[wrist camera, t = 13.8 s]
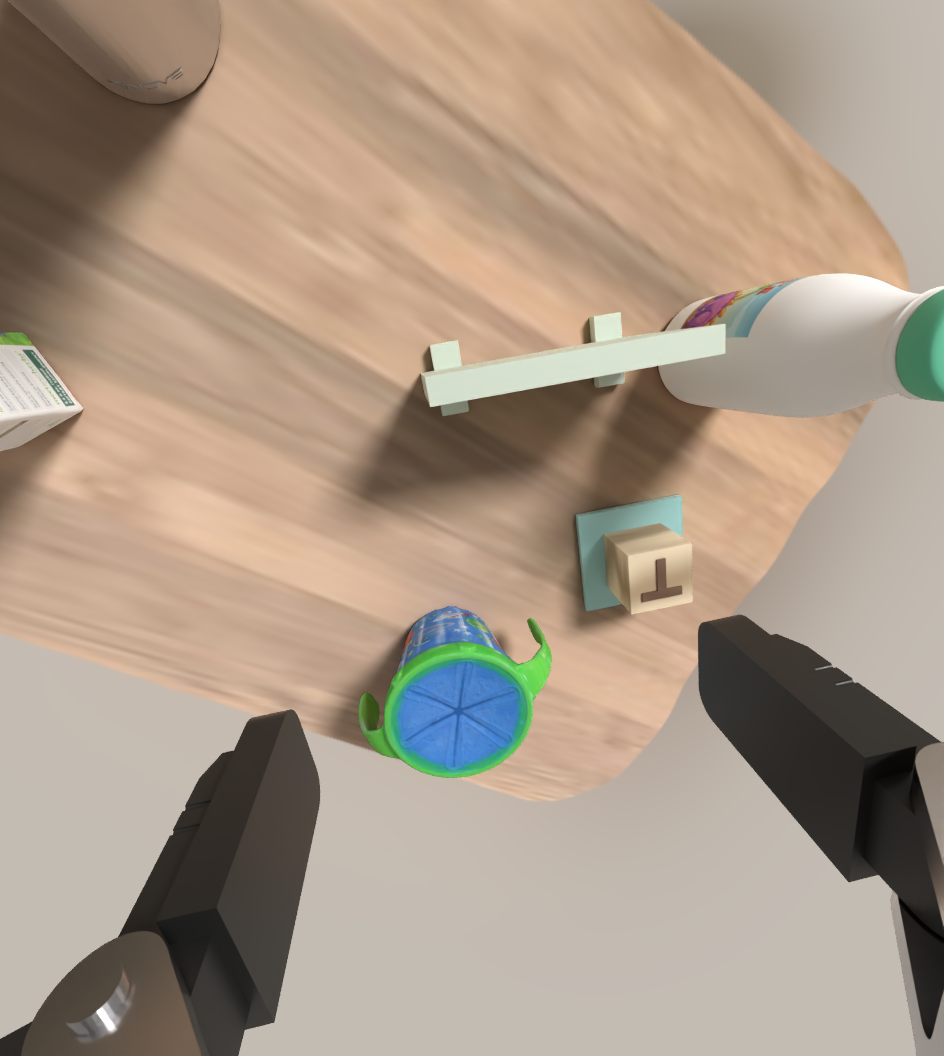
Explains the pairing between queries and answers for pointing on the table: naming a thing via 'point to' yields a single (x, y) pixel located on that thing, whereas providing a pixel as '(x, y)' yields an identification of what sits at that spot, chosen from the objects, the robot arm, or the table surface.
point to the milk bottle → (814, 347)
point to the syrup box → (29, 393)
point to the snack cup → (456, 697)
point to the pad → (611, 521)
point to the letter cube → (648, 567)
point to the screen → (564, 362)
